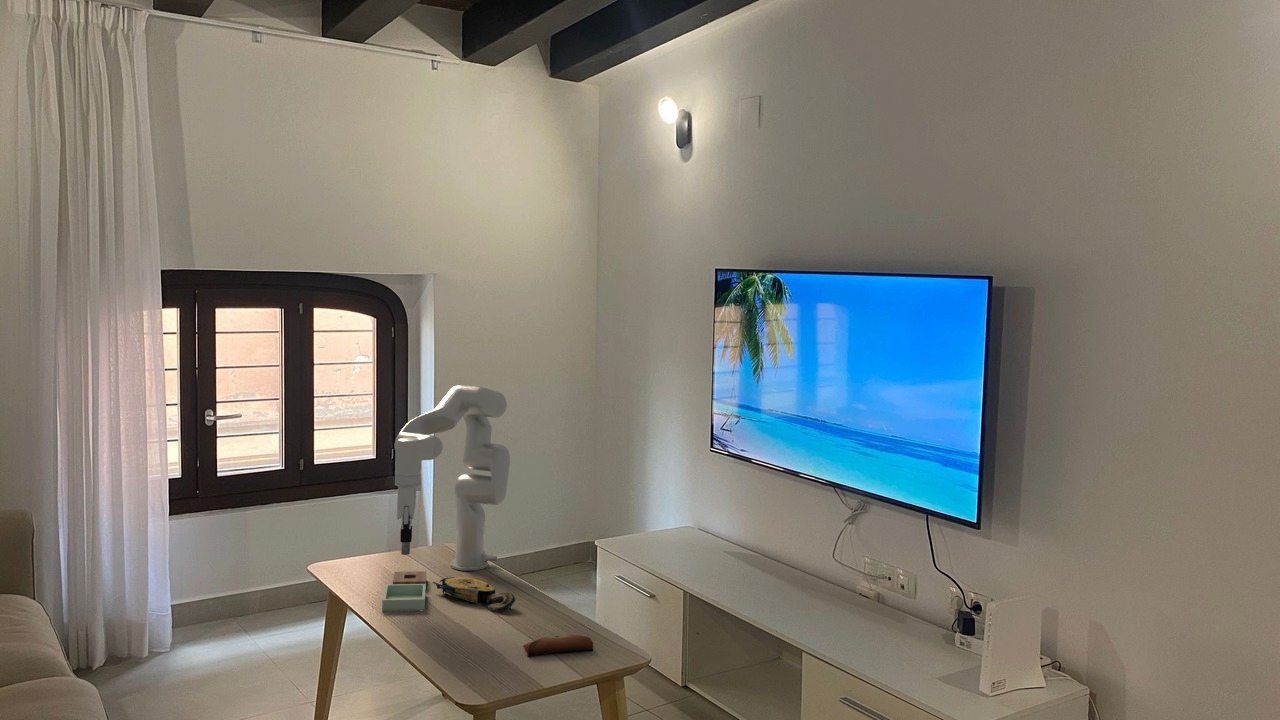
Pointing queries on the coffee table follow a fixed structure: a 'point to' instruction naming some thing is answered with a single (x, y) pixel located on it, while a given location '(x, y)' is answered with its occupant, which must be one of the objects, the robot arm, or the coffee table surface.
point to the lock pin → (405, 548)
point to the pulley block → (476, 592)
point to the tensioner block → (410, 577)
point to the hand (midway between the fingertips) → (406, 540)
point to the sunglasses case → (558, 644)
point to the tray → (404, 597)
